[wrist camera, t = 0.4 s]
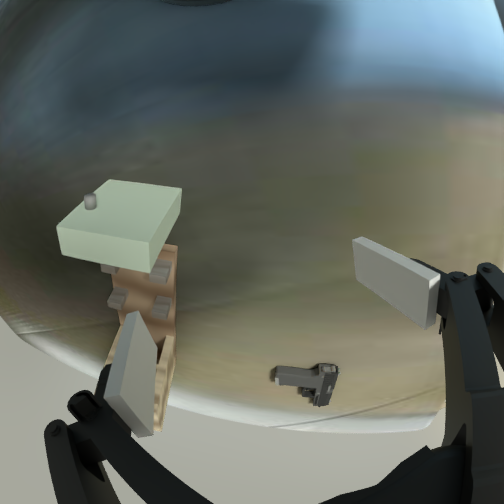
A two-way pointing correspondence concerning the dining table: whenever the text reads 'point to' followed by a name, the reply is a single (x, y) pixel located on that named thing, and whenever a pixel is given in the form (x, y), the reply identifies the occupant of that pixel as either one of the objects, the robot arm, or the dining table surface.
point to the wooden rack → (150, 316)
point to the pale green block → (121, 224)
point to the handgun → (310, 381)
